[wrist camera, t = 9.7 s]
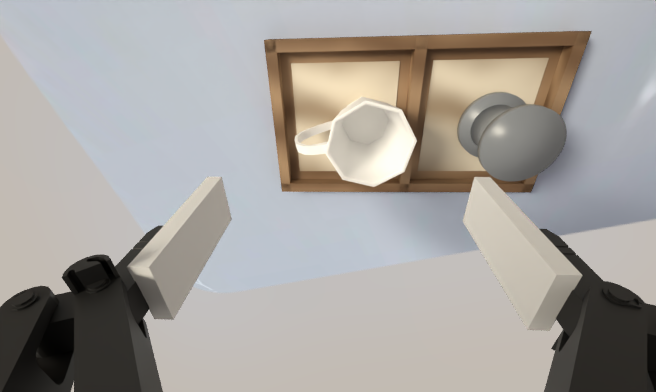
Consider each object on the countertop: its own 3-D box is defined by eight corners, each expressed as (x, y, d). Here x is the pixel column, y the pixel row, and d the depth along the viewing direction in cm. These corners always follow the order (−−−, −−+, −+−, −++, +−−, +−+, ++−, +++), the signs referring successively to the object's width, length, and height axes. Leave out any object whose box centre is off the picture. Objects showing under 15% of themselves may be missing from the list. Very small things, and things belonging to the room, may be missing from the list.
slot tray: (268, 39, 26) (264, 39, 25) (576, 31, 25) (591, 31, 23) (284, 184, 34) (282, 191, 32) (522, 184, 32) (531, 192, 31)
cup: (401, 146, 30) (417, 182, 23) (308, 159, 32) (297, 196, 25) (398, 76, 27) (416, 92, 20) (293, 93, 28) (276, 114, 21)
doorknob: (464, 92, 27) (492, 107, 22) (534, 91, 27) (579, 105, 22) (451, 155, 30) (473, 181, 25) (514, 155, 30) (549, 181, 25)
